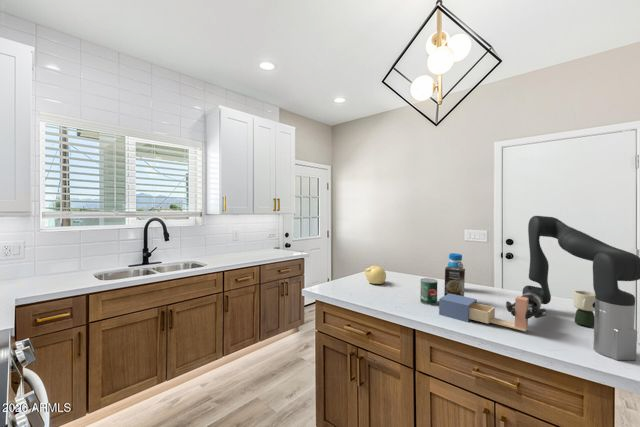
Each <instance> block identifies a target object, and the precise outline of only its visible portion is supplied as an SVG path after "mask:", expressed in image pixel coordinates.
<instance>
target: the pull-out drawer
mask: <svg viewBox="0 0 640 427" xmlns="http://www.w3.org/2000/svg"><path fill="white" fill-rule="evenodd" d="M528 300H529V298H526V297H521V296H519V295H517V296H516V297H515V300H514V301H515V302H514V303H515V316H514V321H510V320H506V319H501V318H497V317H495V316H496V314H495V312H496V307H495V306H490V305H485V304H481V303H478V302H477V303H473V304H472V305H471V306H469V319H471V320H473V321H476V322H481V323H485V324H490V323H491V324H495V325H499V326H503V327H507V328H511V329H515V330H519V331H522V332H527V330H528V328H529V318H528V319H525V314H526V312H527V311H528Z"/></svg>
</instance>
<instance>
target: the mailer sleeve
mask: <svg viewBox="0 0 640 427" xmlns="http://www.w3.org/2000/svg"><path fill="white" fill-rule="evenodd" d="M438 300H439V301H438V308H439V309H438V315H439V316H444V317H448V318H451V319H454V320H459V321H463V322H466V323H469V322H470V321H471V320H472V319H469V306H471V305H472V304H473V303H477V304H478V299H477V298H472V297H469V296H465V295H464V296H460V295H455V294H450V293H449V294H447V295H445V296H442V297H440V298H438Z"/></svg>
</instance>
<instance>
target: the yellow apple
mask: <svg viewBox="0 0 640 427" xmlns="http://www.w3.org/2000/svg"><path fill="white" fill-rule="evenodd" d="M364 275H365V277H366V279H367V282H368V283H370V284H374V285H382V284H385V281H386V279H387V273H386V271H385V269H384V268H382V267H381V266H380V265H371V266H370V267H368V268H366V269H364Z"/></svg>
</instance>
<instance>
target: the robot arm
mask: <svg viewBox="0 0 640 427" xmlns="http://www.w3.org/2000/svg"><path fill="white" fill-rule="evenodd" d="M527 226H528V227H527V228H528V229H527V233H528V234H527V235H528V247H529V248H528V249H529V270H528V279H529V280H530V281H532V282H534V283H537V284H539V286H540V287H539V286H534V285H525V286H524V287H523V288H522V291H521V292H522V295H521V296H520V297H526V298H529V300H528V311H527V312H526V314H525V319H528V320H529V319H531V318H533V317H534V318H535V319H539V318H543V317H546V315H547V309H546V308H541V306H542V305H548V304H550V302H551V300H552V297H551V296H552V294H551V290H550V286H549V282H548V281H549V279H548V277H549V268H550V266H549V261H548V258H547V257H546V254H545V252H544V251H543V249H542V246H541V243H540V238H541V237H548V238H554V239H555V240H557V242H558V243H557V244H558V246H559V247H560V248H561V249H562V250H564V251H565V252H567V253H568V254H569V255H572V256H574V257H576V258H579V259H581V260H582V259H583V260H587V261H590V262H592V278H593V279H592V285H593V286H592V287H593V291H594V293H595V311H594V327H593V346H592V347H593V350H594V351H595V352H597V353H598V354H600V355H603V356H604V357H605V356H606V357H608V358H611V359H613V360H615V361H637V348H638V347H637V346H638V330H637V329H635V314H636V313H635V312H636V311H635V310H636V297H635V295H634V294H632V293H631V292H627V291H625V290H622V289H620V288H619V283H618V282H635V281H640V257H639V256H638V255H636V254H635V253H633V252H629V251H627V250H624V249H620V248H618V247H614V246H612V245H610V244H608V243H605V242H603V241H601V240H599V239H597V238H595V237H593V236H592V235H590V234H587V233H585V232H583V231H580V230H579V229H577V228H574V227H571V226H569V225H567V224H566V223H565V222H563V221H561V220H560V219H558V218H557V217H553V216H545V215H544V216H543V215H533V216H532V217H530V219H529V221H528V225H527ZM505 307H506V310H507V311H508V312H509V313H510V314H511V315H512V316H513V317H515V302H513V303H512V302H510V301H507V300H506V302H505Z"/></svg>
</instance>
